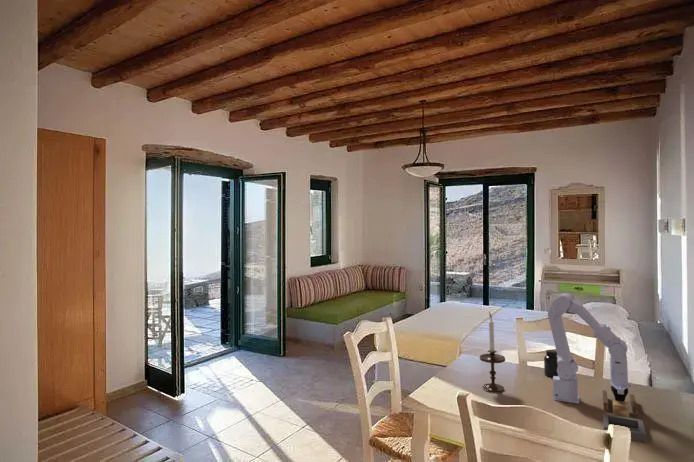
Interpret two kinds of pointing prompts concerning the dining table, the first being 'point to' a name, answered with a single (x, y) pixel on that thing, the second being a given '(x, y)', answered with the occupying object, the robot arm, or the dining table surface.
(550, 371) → the supplement bottle
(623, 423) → the trap pit
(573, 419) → the dining table surface
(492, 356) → the candlestick
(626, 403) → the oak block
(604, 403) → the walnut channel
